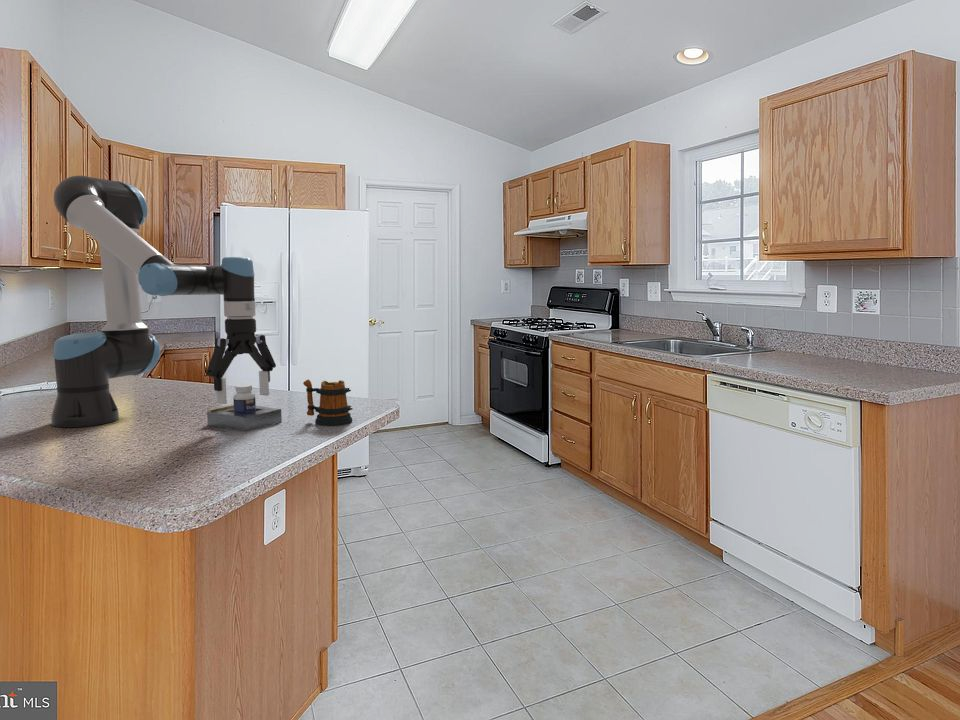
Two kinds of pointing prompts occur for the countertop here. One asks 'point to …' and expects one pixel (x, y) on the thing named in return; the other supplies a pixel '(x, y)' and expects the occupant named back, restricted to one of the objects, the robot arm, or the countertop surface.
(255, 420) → the jig
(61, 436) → the countertop surface
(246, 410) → the pill bottle
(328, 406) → the mug
